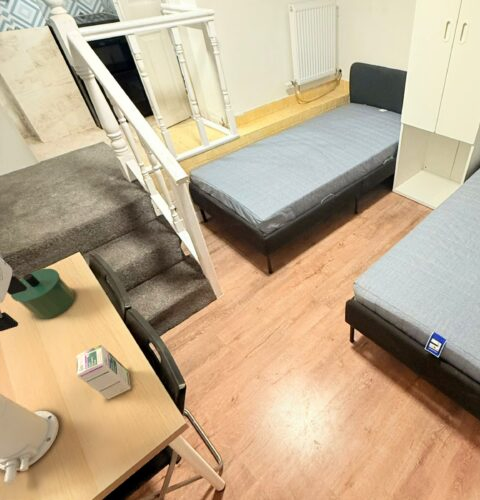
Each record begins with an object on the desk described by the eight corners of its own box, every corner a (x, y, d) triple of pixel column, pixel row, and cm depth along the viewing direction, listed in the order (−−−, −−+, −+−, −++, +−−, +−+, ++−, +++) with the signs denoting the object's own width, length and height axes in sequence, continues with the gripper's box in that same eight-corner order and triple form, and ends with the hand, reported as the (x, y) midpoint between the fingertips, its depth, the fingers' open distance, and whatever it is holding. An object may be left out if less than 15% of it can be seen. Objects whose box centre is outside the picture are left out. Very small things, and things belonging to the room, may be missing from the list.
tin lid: (65, 286, 101) (56, 276, 98) (17, 310, 95) (6, 301, 92) (54, 264, 108) (46, 254, 104) (9, 286, 102) (-2, 276, 98)
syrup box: (131, 388, 87) (104, 362, 77) (107, 400, 85) (75, 375, 75) (128, 370, 90) (102, 343, 80) (105, 381, 88) (74, 355, 78)
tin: (79, 303, 107) (62, 285, 100) (38, 325, 102) (17, 307, 95) (69, 283, 113) (52, 265, 107) (30, 303, 108) (10, 284, 101)
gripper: (-45, 278, 51) (28, 336, 63) (-16, 214, 62) (41, 273, 75) (-106, 294, 49) (-19, 351, 61) (-65, 225, 61) (2, 284, 73)
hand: (14, 308), depth 68 cm, fingers open, 9 cm apart
